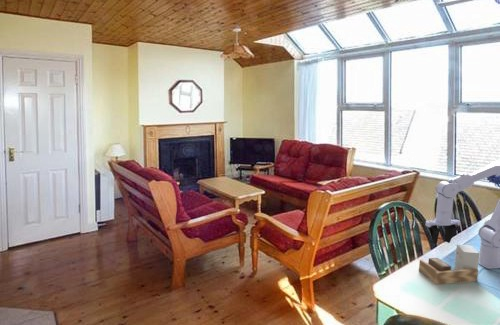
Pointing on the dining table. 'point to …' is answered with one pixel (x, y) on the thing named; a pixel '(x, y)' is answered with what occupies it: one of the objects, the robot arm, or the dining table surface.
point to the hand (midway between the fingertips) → (440, 242)
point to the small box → (466, 257)
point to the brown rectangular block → (439, 264)
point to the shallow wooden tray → (447, 274)
